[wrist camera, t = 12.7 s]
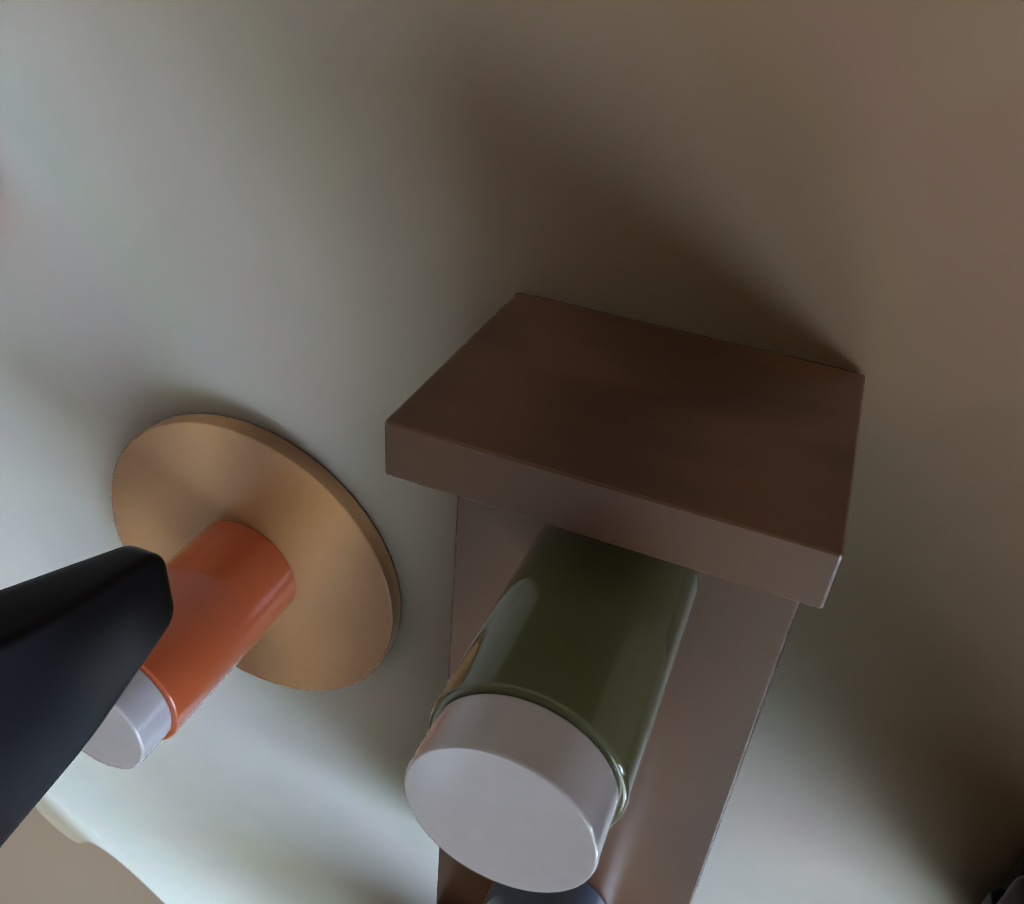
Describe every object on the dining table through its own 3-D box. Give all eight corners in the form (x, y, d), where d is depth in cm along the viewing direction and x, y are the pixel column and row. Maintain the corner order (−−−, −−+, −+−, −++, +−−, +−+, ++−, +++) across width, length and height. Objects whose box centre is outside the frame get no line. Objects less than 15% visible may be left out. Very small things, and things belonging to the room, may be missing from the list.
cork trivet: (402, 469, 25) (392, 480, 24) (400, 719, 31) (392, 731, 31) (96, 374, 28) (82, 383, 27) (150, 620, 34) (139, 630, 34)
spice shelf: (866, 373, 18) (843, 555, 13) (669, 936, 32) (620, 1135, 27) (517, 291, 21) (383, 420, 16) (468, 850, 34) (388, 1019, 29)
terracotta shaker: (292, 540, 27) (134, 701, 22) (299, 626, 30) (157, 792, 24) (192, 506, 28) (17, 651, 23) (206, 591, 31) (49, 743, 25)
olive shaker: (714, 527, 18) (624, 797, 13) (680, 652, 20) (591, 930, 15) (545, 477, 19) (394, 707, 14) (529, 601, 21) (394, 843, 16)
